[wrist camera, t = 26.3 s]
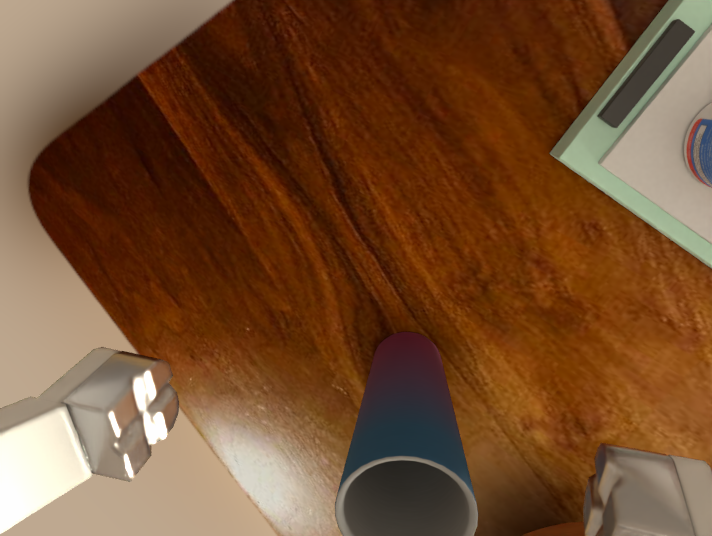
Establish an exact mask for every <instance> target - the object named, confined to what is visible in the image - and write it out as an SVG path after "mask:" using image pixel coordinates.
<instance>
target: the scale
mask: <svg viewBox="0 0 712 536" xmlns="http://www.w3.org/2000/svg"><path fill="white" fill-rule="evenodd" d="M711 102H712V0H669V1H668V2H667V3H666V5H665V6H664V7H663V8H662V10H661V11H660V12H659V14H658V15H657V16H656V17H655V19H654V20H653V21H652V22H651V24H650V25H649V26H648V28H647V29H646V30H645V31H644V33H643V34H642V35H641V37H640V38H639V39H638V40H637V42H636V43H635V44H634V46H633V47H632V48H631V49H630V51H629V52H628V53H627V55H626V56H625V57H624V58H623V60H622V61H621V62H620V64H619V65H618V66H617V67H616V69H615V70H614V71H613V73H612V74H611V75H610V76H609V78H608V79H607V80H606V81H605V83H604V84H603V85H602V87H601V88H600V89H599V90H598V92H597V93H596V94H595V96H594V97H593V98H592V99H591V101H590V102H589V103H588V105H587V106H586V107H585V108H584V110H583V111H582V112H581V114H580V115H579V116H578V117H577V119H576V120H575V121H574V123H573V124H572V125H571V126H570V128H569V129H568V130H567V132H566V133H565V134H564V135H563V137H562V138H561V139H560V140H559V142H558V143H557V144H556V146H555V147H554V148H553V149H552V151H551V152H550V155H552V156H553V157H554V158H556V159H557V160H559V161H560V162H562V163H563V164H564V165H566V166H567V167H569V168H570V169H571V170H573V171H574V172H576V173H577V174H579V175H580V176H581V177H583V178H584V179H586V180H587V181H588V182H590V183H591V184H593V185H594V186H596V187H597V188H598V189H600V190H601V191H603V192H604V193H605V194H607V195H608V196H610V197H611V198H612V199H614V200H615V201H617V202H618V203H620V204H621V205H622V206H624V207H625V208H627V209H628V210H629V211H631V212H632V213H634V214H635V215H637V216H638V217H639V218H641V219H642V220H644V221H645V222H646V223H648V224H649V225H651V226H652V227H654V228H655V229H656V230H658V231H659V232H661V233H662V234H663V235H665V236H666V237H668V238H669V239H671V240H672V241H673V242H675V243H676V244H678V245H679V246H680V247H682V248H683V249H685V250H686V251H688V252H689V253H690V254H692V255H693V256H695V257H696V258H697V259H699V260H700V261H702V262H703V263H705V264H706V265H707V266H709V267H710V268H712V188H711V187H708V186H706V185H704V184H702V183H701V182H699V181H698V180H697V179H696V178H695V177H694V176H693V175H692V174H691V172H690V171H689V169H688V167H687V165H686V162H685V157H684V142H685V137H686V134H687V131H688V129H689V127H690V125H691V123H692V122H693V120H694V119H695V117H696V116H697V115H698V114H699V113H700V112H701V111H702V110H703V109H704V108H705V107H706V106H707V105H709V104H710V103H711Z"/></svg>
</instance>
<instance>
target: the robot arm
mask: <svg viewBox="0 0 712 536" xmlns="http://www.w3.org/2000/svg"><path fill="white" fill-rule="evenodd" d="M172 376H173V374H172V371H171V368H170V364H169V363H168V362H166V361H164V360H161V359H157V358H152V357H148V356H143V355H138V354H134V353H129V352H124V351H118V350H113V349H108V348H104V347H101V348H97V349H94V350H92V351H91V352H90V353H89V354H87V355H86V356H85V357H84V358H83V359H82V360H81V361H79V362H78V363H77V364H76V365H75V366H74V367H72V368H71V369H70V370H69V371H68V372H67V373H66V374H64V375H63V376H62V377H61V378H60V379H58V380H57V381H56V382H55V383H54V384H53V385H51V386H50V387H49V388H48V389H47V390H46V391H44V392H43V393H42V394H41V395H40V396H39V397H37V398H35V397H28V398H26V399H23V400H21V401H18V402H16V403H13V404H11V405H8V406H5V407H3V408H0V534H1V533H3V532H4V531H6V530H7V529H9V528H11V527H12V526H13V525H15V524H17V523H18V522H20V521H22V520H23V519H25V518H27V517H28V516H30V515H31V514H33V513H34V512H36V511H38V510H39V509H41V508H42V507H44V506H46V505H47V504H49V503H50V502H52V501H53V500H55V499H57V498H58V497H60V496H61V495H63V494H65V493H66V492H68V491H69V490H71V489H73V488H74V487H76V486H77V485H79V484H80V483H82V482H84V481H85V480H87V479H88V478H90V477H91V476H92V473H93V474H97V475H102V476H106V477H110V478H115V479H120V480H124V481H128V482H131V481H132V479H133V478H134V477H135V475H136V474H137V473H138V472H139V470H140V469H141V468H142V467H143V465H144V464H145V463H146V462H147V460H148V459H149V458H150V456H151V445H152V444H154V443H156V442H158V441H160V440H162V439H164V438H165V437H166V436H167V434H168V433H169V432H170V430H171V429H172V428H173V426H174V423H175V420H176V418H177V415H178V410H179V400H178V395H177V392H176V391H175V390H174V389H173V388H172V386H171V385H170V384H169V383H168V382H169V381H170V379H171V378H172ZM595 467H596V474H594V475H592V476H591V477H589V479H588V483H587V487H586V491H585V499H584V531H585V536H712V471H711V468H710V466H709V465H708V464H707V463H706V462H705V461H701V460H696V459H690V458H684V457H679V456H673V455H666V454H661V453H656V452H650V451H645V450H639V449H633V448H628V447H622V446H617V445H611V444H606V443H601V444H600V446H599V447H598V449H597V452H596V456H595Z"/></svg>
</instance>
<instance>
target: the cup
mask: <svg viewBox="0 0 712 536" xmlns="http://www.w3.org/2000/svg"><path fill="white" fill-rule="evenodd" d="M335 516H336V520H337V524H338V527H339V529H340V531H341V533H342V535H343V536H474V533H475V530H476V528H477V522H478V510H477V503H476V499H475V495H474V491H473V487H472V483H471V479H470V475H469V471H468V467H467V462H466V458H465V454H464V450H463V446H462V442H461V438H460V434H459V430H458V426H457V422H456V417H455V413H454V409H453V405H452V401H451V397H450V393H449V389H448V385H447V381H446V376H445V372H444V368H443V364H442V360H441V356H440V353H439V351H438V349H437V347H436V346H435V344H434V343H433V342H432V341H431V340H429V339H428V338H426V337H425V336H423V335H420V334H418V333H413V332H400V333H396V334H393V335H391V336H389V337H387V338H386V339H384V340H383V341H382V342H381V343H380V345H379V346H378V347H377V349H376V351H375V354H374V358H373V362H372V366H371V369H370V373H369V377H368V381H367V384H366V388H365V392H364V396H363V399H362V403H361V407H360V411H359V415H358V418H357V422H356V426H355V430H354V433H353V437H352V441H351V445H350V448H349V452H348V456H347V460H346V463H345V467H344V471H343V475H342V478H341V482H340V486H339V490H338V494H337V498H336V502H335Z"/></svg>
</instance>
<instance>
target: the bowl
mask: <svg viewBox="0 0 712 536" xmlns="http://www.w3.org/2000/svg"><path fill="white" fill-rule="evenodd" d="M523 536H585V531H584V522H573V523H565V524H558V525H553V526H549V527H545V528H541V529H538V530H535V531H532V532H530V533H527V534H525V535H523Z"/></svg>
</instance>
